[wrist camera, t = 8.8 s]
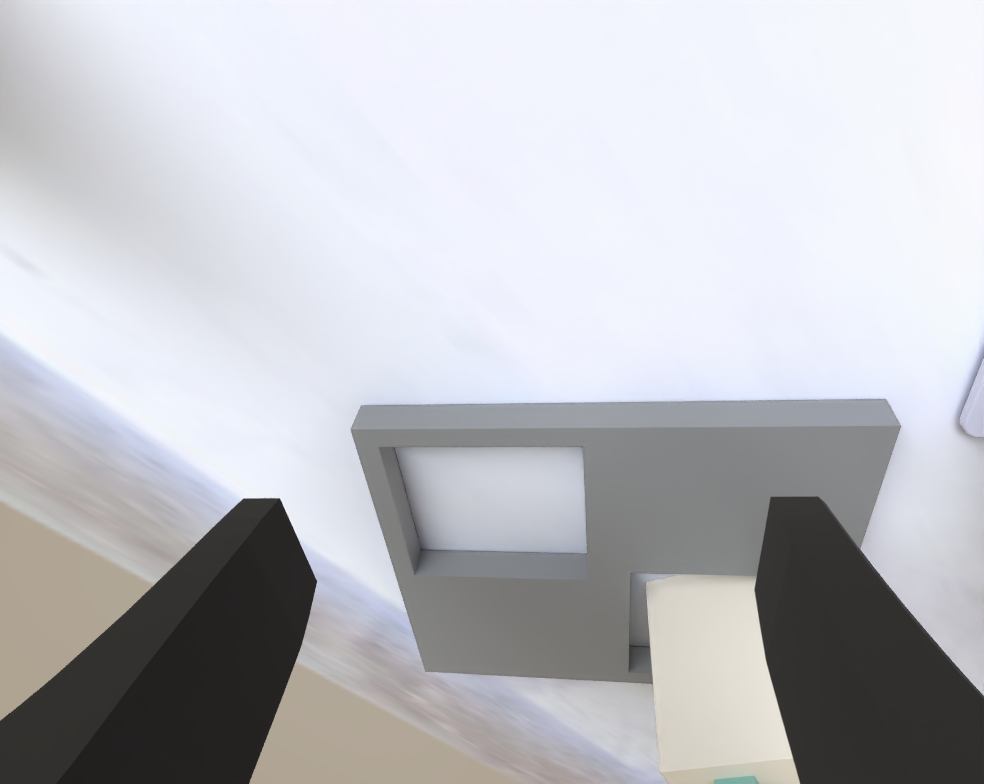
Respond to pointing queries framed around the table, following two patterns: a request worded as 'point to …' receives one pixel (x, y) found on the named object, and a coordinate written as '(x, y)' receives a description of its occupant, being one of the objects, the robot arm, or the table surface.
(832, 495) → the socket panel
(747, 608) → the plug
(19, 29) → the table surface
